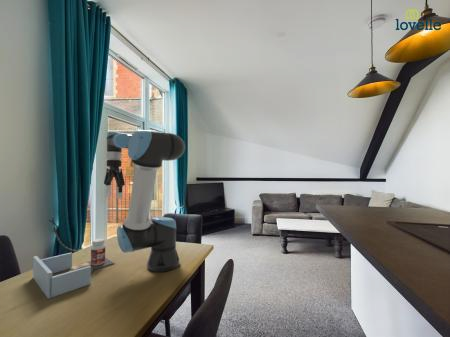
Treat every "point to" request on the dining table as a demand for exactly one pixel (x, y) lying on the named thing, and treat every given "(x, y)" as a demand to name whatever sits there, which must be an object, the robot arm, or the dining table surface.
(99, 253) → the pill bottle
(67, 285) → the open box
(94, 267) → the mat
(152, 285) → the dining table surface
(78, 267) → the offcut top
